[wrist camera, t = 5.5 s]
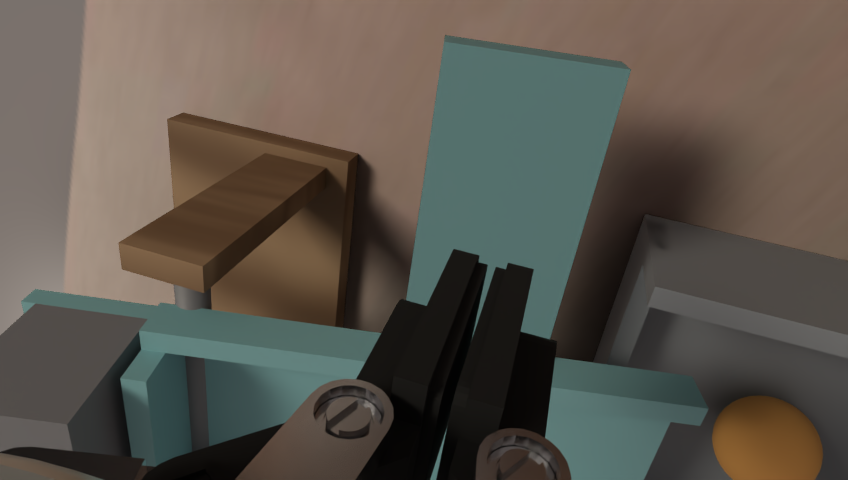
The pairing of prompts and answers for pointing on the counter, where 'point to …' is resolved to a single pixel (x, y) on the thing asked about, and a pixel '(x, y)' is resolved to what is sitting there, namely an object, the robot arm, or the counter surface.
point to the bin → (733, 334)
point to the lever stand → (253, 222)
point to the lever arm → (349, 349)
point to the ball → (766, 441)
